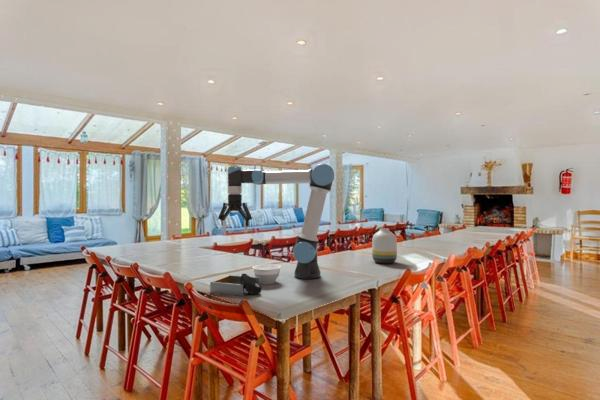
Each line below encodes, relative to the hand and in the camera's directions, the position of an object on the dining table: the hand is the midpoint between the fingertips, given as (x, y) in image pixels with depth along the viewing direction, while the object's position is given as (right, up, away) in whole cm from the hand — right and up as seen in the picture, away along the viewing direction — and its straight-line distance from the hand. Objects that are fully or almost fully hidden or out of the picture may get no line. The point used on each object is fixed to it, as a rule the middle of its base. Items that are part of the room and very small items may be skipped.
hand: (235, 232), depth 193 cm
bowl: (+18, -27, -6) cm, 33 cm away
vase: (+96, -27, +52) cm, 112 cm away
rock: (+8, -23, -25) cm, 35 cm away
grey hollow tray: (+4, -27, -21) cm, 34 cm away
